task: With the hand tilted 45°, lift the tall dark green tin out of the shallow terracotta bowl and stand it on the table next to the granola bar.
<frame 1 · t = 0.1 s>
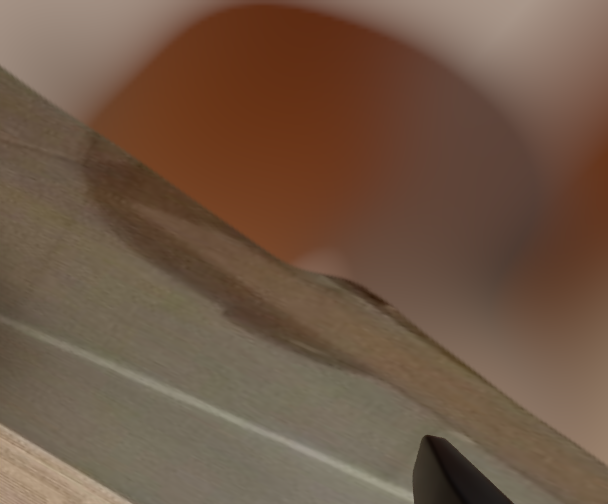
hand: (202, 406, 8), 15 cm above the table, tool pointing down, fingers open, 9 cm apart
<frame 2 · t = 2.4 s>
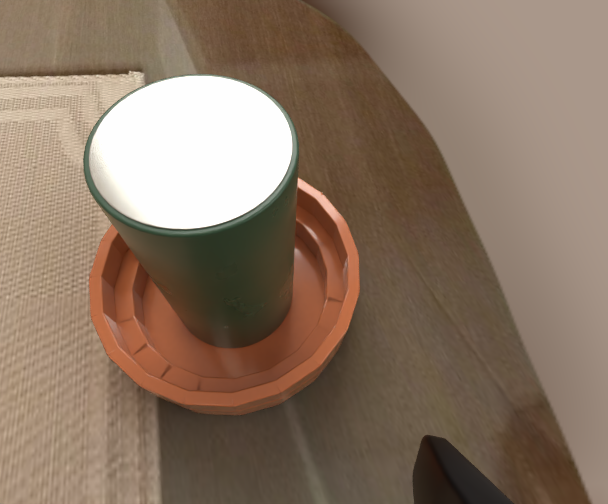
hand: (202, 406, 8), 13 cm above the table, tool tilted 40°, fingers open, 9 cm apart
tin: (235, 291, 23), point 1 cm above the table, touching bowl
bowl: (236, 295, 24), on the table
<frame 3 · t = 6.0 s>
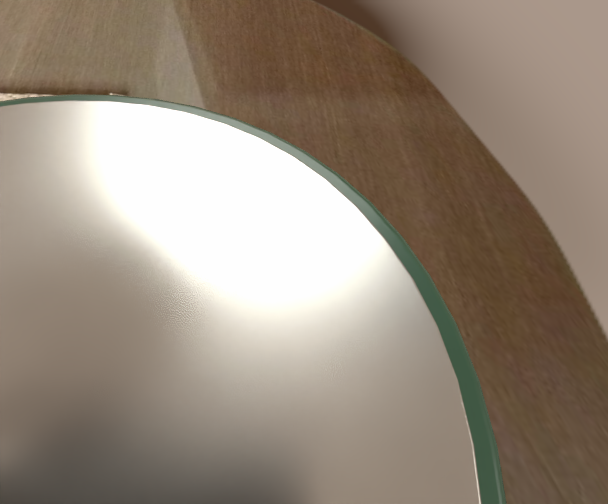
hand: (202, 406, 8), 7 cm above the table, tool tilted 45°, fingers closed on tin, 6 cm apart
tin: (217, 492, 13), point 1 cm above the table, touching bowl, gripper
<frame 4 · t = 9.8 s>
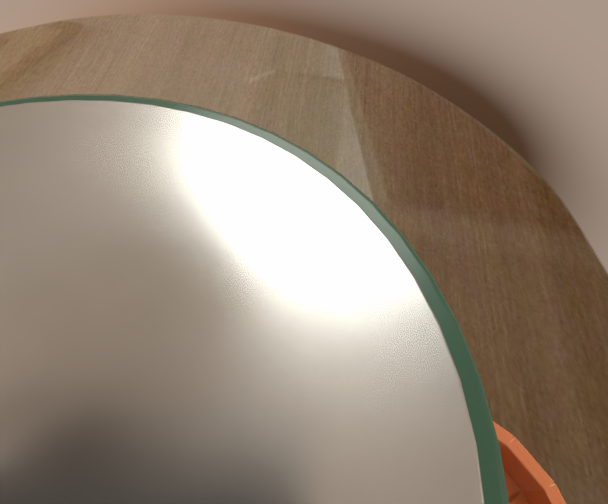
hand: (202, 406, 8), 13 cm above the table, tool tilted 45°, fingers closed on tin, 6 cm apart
tin: (218, 492, 13), point 7 cm above the table, touching gripper
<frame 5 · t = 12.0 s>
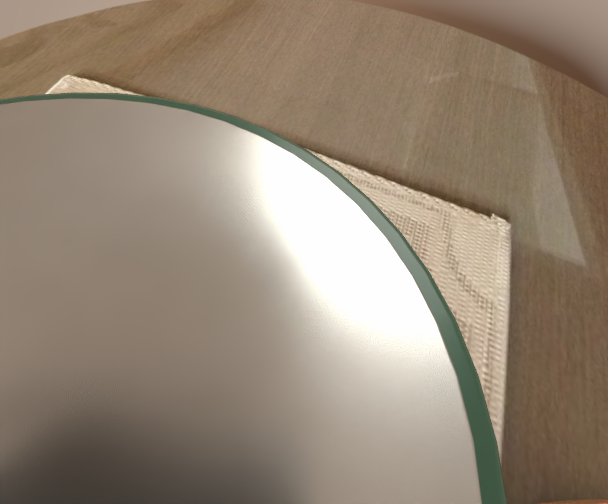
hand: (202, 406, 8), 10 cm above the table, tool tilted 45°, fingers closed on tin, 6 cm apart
tin: (217, 492, 13), point 4 cm above the table, touching gripper
when the fingers open (6 cm above the table, at t = 13.8 s): tin stays where it is, on the table.
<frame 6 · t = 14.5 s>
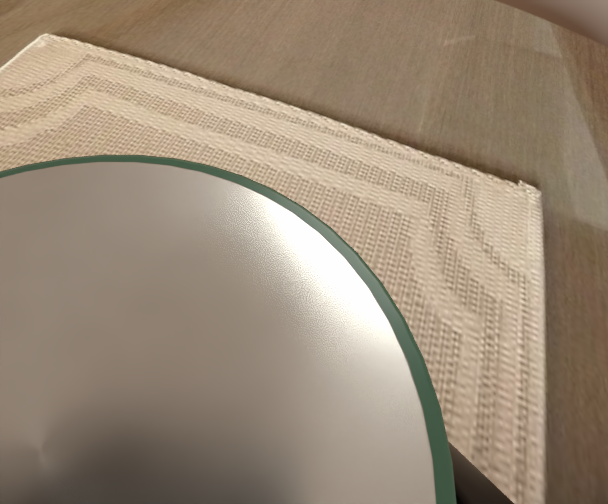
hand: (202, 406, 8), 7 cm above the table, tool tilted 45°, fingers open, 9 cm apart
tin: (221, 493, 13), on the table
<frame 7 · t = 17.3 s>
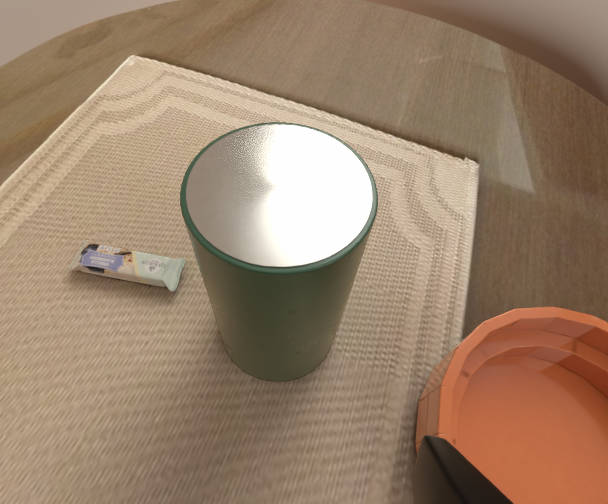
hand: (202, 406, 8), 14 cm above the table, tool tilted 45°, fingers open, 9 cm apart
tin: (278, 324, 24), on the table
granola bar: (131, 269, 25), on the table
bowl: (541, 458, 21), on the table
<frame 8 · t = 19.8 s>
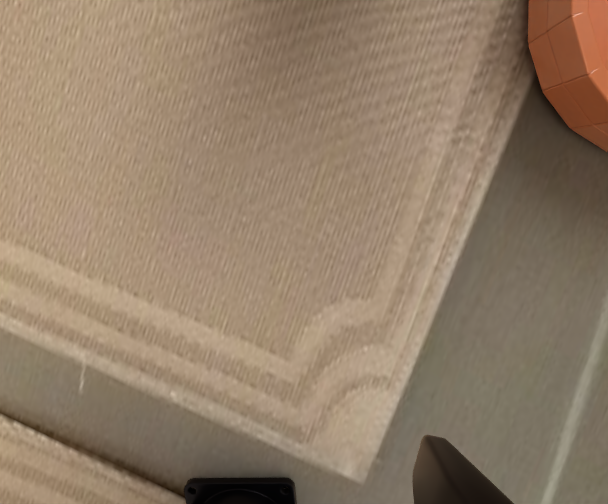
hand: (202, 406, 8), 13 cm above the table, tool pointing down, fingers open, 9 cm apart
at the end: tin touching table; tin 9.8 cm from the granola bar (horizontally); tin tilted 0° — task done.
